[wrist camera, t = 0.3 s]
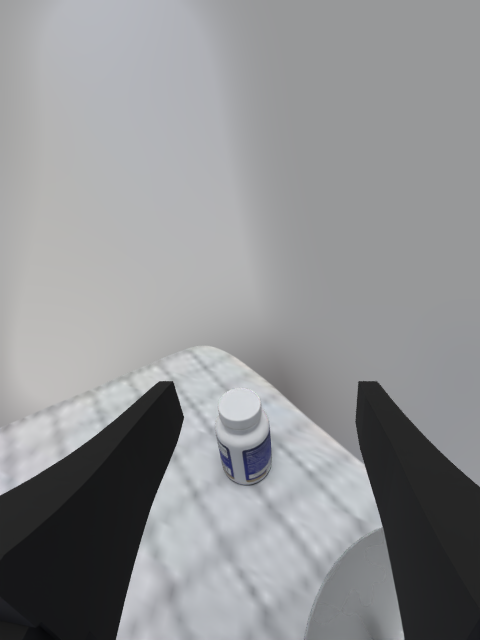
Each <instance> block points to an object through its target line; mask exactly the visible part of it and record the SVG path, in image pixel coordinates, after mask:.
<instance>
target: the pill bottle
mask: <svg viewBox="0 0 480 640" xmlns="http://www.w3.org/2000/svg"><path fill="white" fill-rule="evenodd" d="M218 412H219V415H218V417H217V420H216V423H215V431H216V437H217V441H218V446H219V451H220V456H221V460H222V465H223V468H224V471H225V473H226V474H227V476H228V477H229V478H230V479H231V480H233V481H235V482H237V483H239V484H245V485H248V484H254V483H256V482H259V481H260V480H262V479H263V478H264V477H265V476H266V475H267V474H268V472H269V470H270V467H271V463H272V454H271V439H270V424H269V419H268V416H267V414H266V412H265V411H264V410H263V409H262V408H261V400H260V398H259V396H258V395H257V394H256V393H255V392H254V391H252V390H250V389H247V388H235V389H232V390H230V391H228V392H226V393H225V394H223V395H222V397H221V398H220V400H219V402H218Z"/></svg>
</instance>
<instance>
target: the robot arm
mask: <svg viewBox="0 0 480 640" xmlns="http://www.w3.org/2000/svg"><path fill="white" fill-rule="evenodd" d="M358 383H359V384H358V397H357V409H356V427H357V434H358V439H359V445H360V450H361V453H362V457H363V460H364V463H365V467H366V470H367V474H368V477H369V480H370V484H371V487H372V490H373V494H374V497H375V501H376V504H377V507H378V511H379V514H380V518H381V522H382V526H383V530H384V534H385V539H386V544H387V549H388V554H389V559H390V564H391V569H392V574H393V579H394V584H395V590H396V595H397V600H398V605H399V611H400V616H401V622H402V627H403V633H404V638H405V640H480V487H479V486H478V485H477V484H475V483H474V482H473V481H472V480H471V479H470V478H468V477H467V476H466V475H465V474H464V473H463V472H462V471H461V470H459V469H458V468H457V467H456V466H455V465H454V464H453V463H452V462H450V461H449V460H448V459H447V458H446V457H445V456H444V455H443V454H442V453H441V452H440V451H439V450H438V449H437V448H436V447H435V446H434V445H433V444H432V443H431V442H430V441H429V440H428V439H427V438H426V437H425V436H424V435H423V434H422V433H421V432H420V431H419V430H418V429H417V427H416V426H415V425H414V424H413V423H412V422H411V421H410V420H409V419H408V418H407V417H406V416H405V415H404V413H403V412H402V411H401V410H400V409H399V407H398V406H397V405H396V404H395V403H394V402H393V400H392V399H391V398H390V397H389V395H388V394H387V393H386V392H385V390H384V389H383V388H382V387H381V385H380V384H379V383H378V382H375V381H368V382H367V381H363V382H362V381H359V382H358ZM183 420H184V416H183V412H182V409H181V406H180V402H179V399H178V396H177V393H176V389H175V386H174V383H173V381H159V382H158V383H157V384H156V385H154V386H153V387H152V388H151V389H150V390H149V391H147V392H146V393H145V394H144V395H143V396H142V397H141V398H140V399H138V400H137V401H136V402H135V403H134V404H133V405H132V406H131V407H129V408H128V409H127V410H126V411H125V412H124V413H123V414H121V415H120V416H119V417H118V418H117V419H115V420H114V421H113V422H112V423H111V424H109V425H108V426H107V427H106V428H104V429H103V430H102V431H101V432H99V433H98V434H97V435H96V436H94V437H93V438H92V439H90V440H89V441H88V442H86V443H85V444H84V445H82V446H81V447H79V448H78V449H77V450H75V451H74V452H72V453H71V454H69V455H68V456H67V457H65V458H64V459H62V460H60V461H59V462H57V463H56V464H54V465H52V466H51V467H49V468H48V469H46V470H44V471H43V472H41V473H40V474H38V475H36V476H35V477H33V478H31V479H30V480H28V481H26V482H24V483H22V484H21V485H19V486H17V487H15V488H14V489H12V490H10V491H8V492H6V493H4V494H2V495H1V496H0V640H116V636H117V632H118V628H119V623H120V619H121V615H122V610H123V606H124V602H125V598H126V594H127V590H128V586H129V582H130V578H131V574H132V570H133V567H134V563H135V559H136V556H137V552H138V549H139V545H140V542H141V538H142V535H143V532H144V528H145V525H146V522H147V519H148V515H149V512H150V509H151V506H152V503H153V501H154V498H155V495H156V493H157V490H158V488H159V486H160V483H161V481H162V478H163V476H164V474H165V471H166V469H167V466H168V464H169V462H170V459H171V457H172V454H173V452H174V449H175V447H176V444H177V442H178V438H179V435H180V431H181V427H182V423H183Z"/></svg>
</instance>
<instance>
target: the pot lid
mask: <svg viewBox="0 0 480 640" xmlns="http://www.w3.org/2000/svg"><path fill="white" fill-rule="evenodd" d="M304 640H405V638H404V633H403V627H402V622H401V616H400V611H399V605H398V600H397V595H396V590H395V584H394V579H393V574H392V569H391V564H390V559H389V554H388V549H387V544H386V539H385V534H384V530H383V527H382V528H379V529H376V530H374V531H372V532H371V533H369V534H367V535H365V536H363V537H362V538H360V539H359V540H358V541H356V542H355V543H354V544H353V545H351V546H350V547H349V548H348V549H347V550H346V551H345V552H344V553H343V554H342V555H341V557H340V558H339V559H338V560H337V561H336V562H335V563H334V565H333V567H332V568H331V570H330V571H329V573H328V574H327V576H326V577H325V579H324V581H323V583H322V585H321V587H320V589H319V592H318V594H317V596H316V598H315V601H314V604H313V607H312V610H311V613H310V616H309V619H308V623H307V628H306V633H305V638H304Z"/></svg>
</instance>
